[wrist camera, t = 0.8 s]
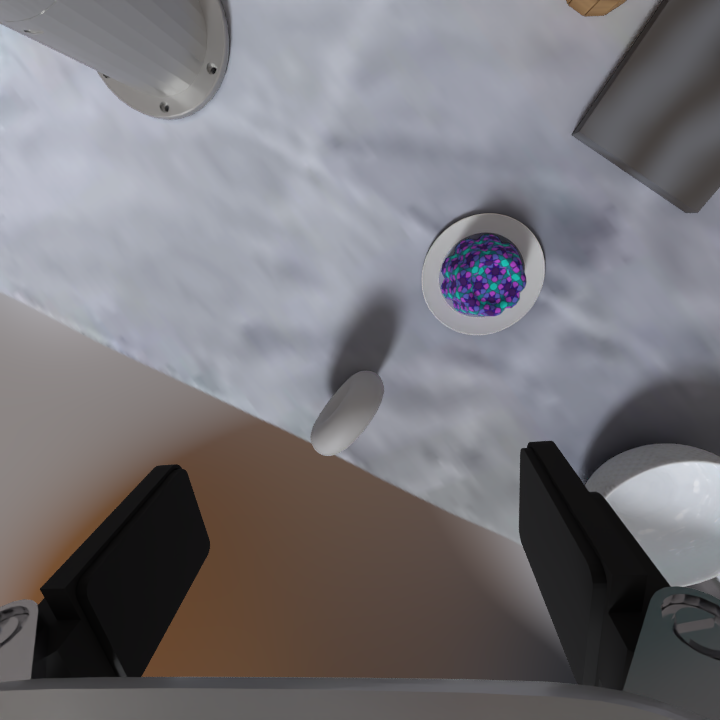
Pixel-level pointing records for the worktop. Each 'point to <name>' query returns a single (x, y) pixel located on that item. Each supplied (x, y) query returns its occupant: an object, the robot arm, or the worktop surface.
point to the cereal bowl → (668, 506)
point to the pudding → (483, 274)
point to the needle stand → (665, 106)
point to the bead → (594, 6)
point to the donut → (347, 413)
